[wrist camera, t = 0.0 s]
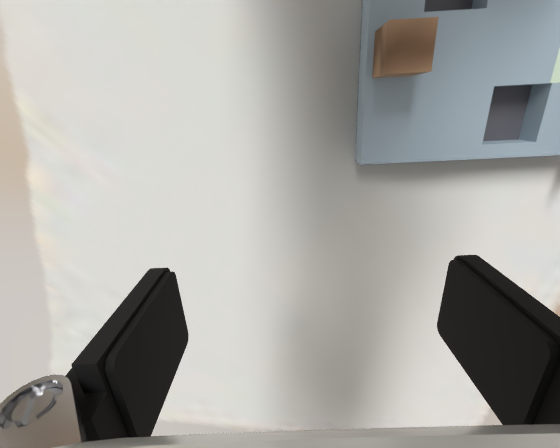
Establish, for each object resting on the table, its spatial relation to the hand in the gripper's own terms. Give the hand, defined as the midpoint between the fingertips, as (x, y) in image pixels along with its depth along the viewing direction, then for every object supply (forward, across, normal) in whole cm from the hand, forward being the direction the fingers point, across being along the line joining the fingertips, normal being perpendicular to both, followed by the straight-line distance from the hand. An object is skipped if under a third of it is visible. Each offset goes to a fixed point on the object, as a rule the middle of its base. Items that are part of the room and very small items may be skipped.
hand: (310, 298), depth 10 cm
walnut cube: (+28, -12, -11) cm, 33 cm away
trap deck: (+31, -23, -11) cm, 40 cm away
